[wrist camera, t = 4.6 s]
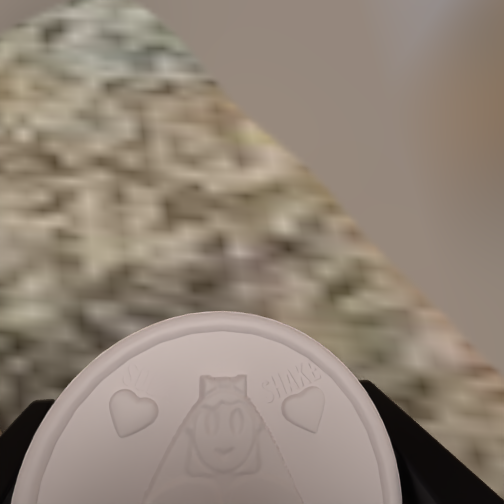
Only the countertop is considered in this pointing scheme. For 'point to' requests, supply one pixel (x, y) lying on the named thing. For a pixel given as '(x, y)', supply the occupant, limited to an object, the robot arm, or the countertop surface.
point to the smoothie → (212, 423)
